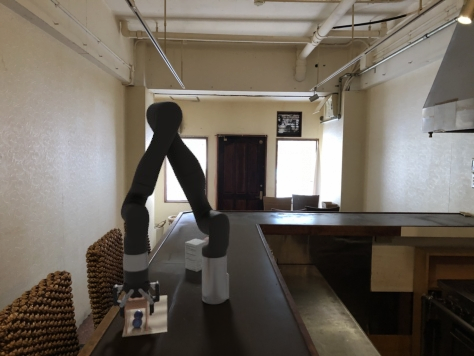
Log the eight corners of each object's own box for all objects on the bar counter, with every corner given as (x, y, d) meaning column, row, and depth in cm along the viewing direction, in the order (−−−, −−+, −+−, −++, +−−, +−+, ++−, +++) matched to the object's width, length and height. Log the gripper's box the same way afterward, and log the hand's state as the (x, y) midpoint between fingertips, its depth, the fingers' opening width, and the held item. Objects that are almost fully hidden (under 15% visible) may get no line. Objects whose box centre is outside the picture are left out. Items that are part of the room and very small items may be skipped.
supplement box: (195, 263, 156) (195, 238, 154) (207, 267, 151) (207, 240, 150) (184, 268, 150) (184, 241, 148) (196, 272, 145) (196, 244, 144)
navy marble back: (141, 316, 107) (141, 307, 106) (144, 320, 104) (144, 311, 104) (132, 318, 105) (132, 310, 105) (135, 323, 102) (134, 314, 102)
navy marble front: (140, 323, 102) (140, 314, 102) (143, 328, 100) (143, 318, 99) (131, 326, 101) (130, 317, 100) (133, 331, 98) (133, 321, 98)
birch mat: (130, 301, 119) (130, 298, 119) (167, 297, 121) (167, 295, 121) (122, 340, 95) (122, 336, 95) (167, 334, 98) (167, 331, 98)
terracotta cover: (129, 316, 107) (128, 293, 106) (149, 314, 108) (148, 291, 107) (125, 333, 97) (124, 308, 96) (147, 331, 98) (146, 306, 97)
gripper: (160, 259, 105) (160, 307, 107) (113, 262, 102) (115, 312, 104) (159, 268, 98) (160, 319, 100) (109, 272, 95) (111, 324, 97)
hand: (137, 315), depth 102 cm, fingers open, 7 cm apart
